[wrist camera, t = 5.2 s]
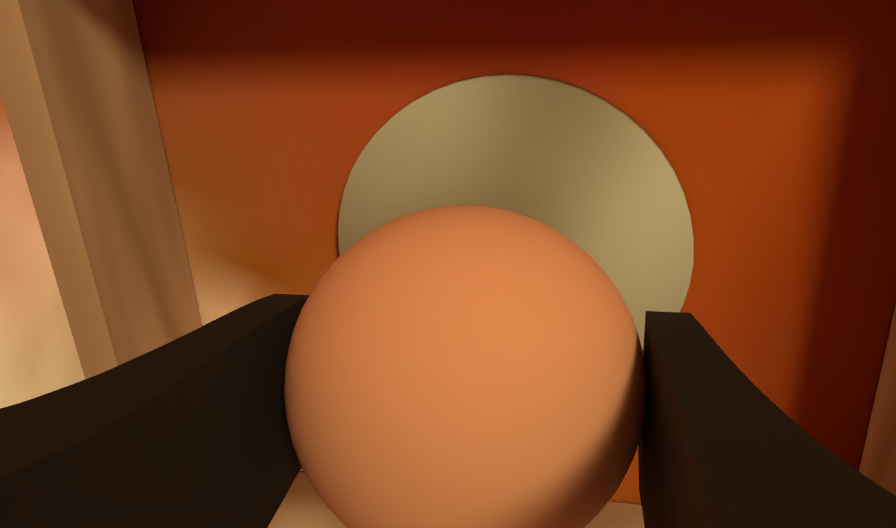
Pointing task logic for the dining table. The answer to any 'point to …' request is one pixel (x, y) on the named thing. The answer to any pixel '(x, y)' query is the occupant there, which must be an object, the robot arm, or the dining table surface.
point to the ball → (465, 377)
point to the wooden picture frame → (363, 203)
